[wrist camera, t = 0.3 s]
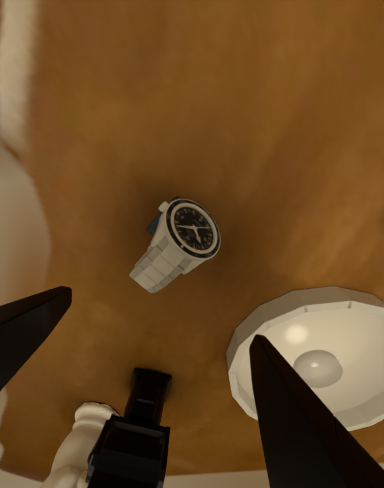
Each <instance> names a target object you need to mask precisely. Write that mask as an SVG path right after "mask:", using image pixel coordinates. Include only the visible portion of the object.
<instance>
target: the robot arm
mask: <svg viewBox="0 0 384 488" xmlns="http://www.w3.org/2000/svg"><path fill="white" fill-rule="evenodd" d="M71 302H72V289H71V288H70V287H66V286H59V287H56V288H53V289H50V290H47V291H44V292H41V293H38V294H35V295H32V296H29V297H26V298H23V299H20V300H17V301H14V302H11V303H8V304H5V305H1V306H0V391H1V390H2V389H3V387H4V386H5V385H6V384H7V383H8V382H9V381H10V379H11V378H12V377H13V376H14V375H15V374H16V373H17V371H18V370H19V369H20V368H21V367H22V366H23V365H24V363H25V362H26V361H27V360H28V359H29V358H30V357H31V355H32V354H33V353H34V352H35V351H36V350H37V349H38V347H39V346H40V345H41V344H42V343H43V342H44V341H45V339H46V338H47V337H48V336H49V334H50V333H51V332H52V330H53V329H54V328H55V326H56V325H57V324H58V322H59V321H60V319H61V318H62V317H63V315H64V314H65V313H66V311H67V310H68V308H69V307H70V305H71ZM249 355H250V368H251V380H252V388H253V395H254V400H255V406H256V411H257V417H258V423H259V428H260V434H261V440H262V445H263V451H264V456H265V462H266V468H267V472H268V478H269V484H270V488H384V470H383V468H382V467H381V466H380V465H379V464H378V463H377V462H376V461H375V460H374V459H373V458H372V457H371V456H370V455H369V453H368V452H367V451H366V450H365V449H364V448H363V447H362V446H361V445H360V444H359V443H358V442H357V440H356V439H355V438H354V437H353V436H352V435H351V434H350V433H349V431H348V430H347V429H346V428H345V427H344V426H343V425H342V424H341V422H340V421H339V420H338V419H337V418H336V417H335V416H334V415H333V413H332V412H331V411H330V410H329V409H328V408H327V406H326V405H325V404H324V403H323V402H322V401H321V400H320V398H319V397H318V396H317V395H316V394H315V393H314V391H313V390H312V389H311V388H310V387H309V386H308V385H307V383H306V382H305V381H304V380H303V379H302V378H301V377H300V375H299V374H298V373H297V372H296V371H295V370H294V369H293V367H292V366H291V365H290V364H289V363H288V362H287V360H286V359H285V358H284V357H283V356H282V355H281V354H280V352H279V351H278V350H277V349H276V348H275V347H274V346H273V344H272V343H271V342H270V341H269V340H268V339H267V338H266V337H265V336H264V335H260V334H256V335H255V336H254V338H253V340H252V342H251V344H250V347H249ZM171 380H172V377H171V376H170V375H165V374H161V373H156V372H151V371H147V370H142V369H138V368H135V369H134V371H133V376H132V384H131V391H130V396H129V399H128V402H127V404H126V407H125V410H124V413H123V416H122V417H121V416H117V415H116V414H111V417H110V419H108V420H106V422H105V424H104V426H103V429H102V431H101V434H100V436H99V438H98V439H97V441H96V443H95V445H94V447H93V449H92V450H91V452H90V454H89V456H88V459H87V464H88V470H87V476H86V480H85V483H87V484H88V487H87V488H163V483H164V478H165V472H166V465H167V455H168V445H169V435H170V427H164V426H160V423H161V417H162V412H163V406H164V402H166V400H167V396H168V392H169V388H170V384H171Z"/></svg>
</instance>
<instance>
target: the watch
mask: <svg viewBox="0 0 384 488" xmlns="http://www.w3.org/2000/svg"><path fill="white" fill-rule="evenodd" d="M158 209H159V210H160V211H161V213H160V214H159V215H158V216H157V217H156V218H155V219H154V220H153V221H152V223H151V224H150V225H149V226H148V227H147V228H146V230H147V231H148V232H149V233H151V234H152V235H153V236H154V237H153V239H152V241H151V244H150V246H149V247H148V251H147V252H146V253H145V254H144V255H143V256H142V257H141V259H140V260H139V261H138V262H137V263H136V264H135V268H134V269H133V271H132V272H131V273H130V275H129V276H130V277H131V278H133V279H134V280H135V281H136V282H137V283H139V284H140V285H141V286H142V287H143V288H145V289H146V290H147V291H148V292H150V293H154V292H157V291H159V290H160V289H162V288H164V287H165V286H166V285H167V284H169V283H170V282H171V281H173V279H175V278H176V277H177V276H178V275H179V274H180V273H182V274H183V275H185V274H187V273H188V272H189V271H191V270H192V269H194V268H195V267H197V266H198V265H199V264H201V263H202V262H204V261H205V260H208V259H210V258H212V257H213V256H215V255H216V254H217V252H218V250H219V247H220V241H221V240H220V233H219V229H218V226H217V224H216V222H215V220H214V219H213V218H212V216H211V215H210V214H209V212H208V211H207V210H206V209H205V208H203V207H202V206H201V205H199V204H198V203H196V202H194V201H191V200H187V199H180V198H179V197H178V196H177V197H176V198H174V199H173V200H172V201H171V202H170V203H169V204H168V203H167V202H166V201H165V202H163V203H162V204H161V205H160V207H159V208H158Z"/></svg>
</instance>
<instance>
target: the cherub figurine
mask: <svg viewBox="0 0 384 488" xmlns="http://www.w3.org/2000/svg"><path fill="white" fill-rule="evenodd" d="M113 411H114V410H113V409H112V408H111V407H110V406H108V405H106V404H101V405H100V404H99V403H95V402H91V403H84V404H83V405H81V406H80V407H79V408H78V409H77V411H76V413H75V420H76V422H75V423H74V425H73V430H72V431H71V433H70V434H69V435H68V436H67V437H66V438H65V440H64V441H63V443H62V444H61V446H60V448H59V449H58V451H57V454H56V456H55V459H54V462H53V466H52V470H51V474H50V475H49V476H48V477H47V479H46V480H45V481H44V482H43V483H42V485H41V486H40V488H87V487H88V484H87V483H85V480H86V476H87V470H88V464H87V459H88V456H89V454H90V452H91V450H92V449H93V447H94V445H95V443H96V441H97V439H98V438H99V436H100V434H101V431H102V429H103V426H104V424H105V422H106V420H108V419H110V417H111V414H116V415H117V416H119V415H118V414H117V413H116V411H114V412H113Z"/></svg>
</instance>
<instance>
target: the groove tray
mask: <svg viewBox="0 0 384 488" xmlns="http://www.w3.org/2000/svg"><path fill="white" fill-rule="evenodd" d="M256 334H260V335H264V336H265V337H266V338H267V339H268V340H269V341H270V342H271V343H272V344H273V346H274V347H275V348H276V349H277V350H278V351H279V352H280V354H281V355H282V356H283V357H284V358H285V359H286V360H287V362H288V363H289V364H290V365H291V366H292V367H293V369H294V370H295V371H296V372H297V373H298V374H299V375H300V377H301V378H302V379H303V380H304V381H305V382H306V383H307V385H308V386H309V387H310V388H311V389H312V390H313V391H314V393H315V394H316V395H317V396H318V397H319V398H320V400H321V401H322V402H323V403H324V404H325V405H326V406H327V408H328V409H329V410H330V411H331V412H332V413H333V415H334V416H335V417H336V418H337V419H338V420H339V421H340V422H341V424H342V425H343V426H344V427H345V428H346V429H347V430H348V431H352V430H356V429H360V428H364V427H368V426H371V425H373V424H375V423H377V422H379V421H381V420H383V419H384V303H383V302H382V301H381V300H379V299H378V298H376V297H375V296H373V295H372V294H368V293H363V292H359V291H354V290H350V289H345V288H341V287H336V286H330V287H321V288H312V289H304V290H295V291H291V292H289V293H287V294H285V295H283V296H280V297H278V298H276V299H274V300H271V301H269V302H267V303H265V304H263V305H260V306H258V307H257V308H256V309H255V310H254V311H253V312H252V313H251V314H250V315H249V316H248V317H247V318H246V319H245V320H244V321H243V322H242V323H241V324H240V325H239V326H238V327H237V328H236V329H235V331H234V333H233V336H232V339H231V341H230V344H229V347H228V349H227V352H226V357H227V366H228V373H229V379H230V385H231V391H232V396H233V397H234V399H235V400H236V401H237V402H238V403H239V405H240V406H241V407H242V408H243V410H244V411H245V412H246V413H247V414H248V415H249V416H251V417H253V418H254V419H256V420H258V417H257V411H256V406H255V400H254V395H253V388H252V380H251V368H250V355H249V347H250V344H251V342H252V340H253V338H254V336H255V335H256Z"/></svg>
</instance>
